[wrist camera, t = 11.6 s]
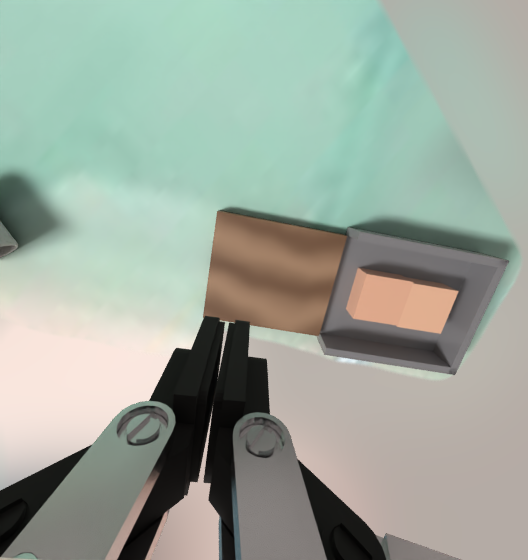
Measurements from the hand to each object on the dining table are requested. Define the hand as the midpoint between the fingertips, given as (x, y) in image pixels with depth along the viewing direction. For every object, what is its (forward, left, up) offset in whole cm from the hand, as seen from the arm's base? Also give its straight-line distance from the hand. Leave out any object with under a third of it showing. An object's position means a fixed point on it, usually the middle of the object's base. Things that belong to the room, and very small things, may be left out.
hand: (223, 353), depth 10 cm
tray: (+4, +21, -26) cm, 34 cm away
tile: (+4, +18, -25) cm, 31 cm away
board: (+4, +4, -26) cm, 26 cm away
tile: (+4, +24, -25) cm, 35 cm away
